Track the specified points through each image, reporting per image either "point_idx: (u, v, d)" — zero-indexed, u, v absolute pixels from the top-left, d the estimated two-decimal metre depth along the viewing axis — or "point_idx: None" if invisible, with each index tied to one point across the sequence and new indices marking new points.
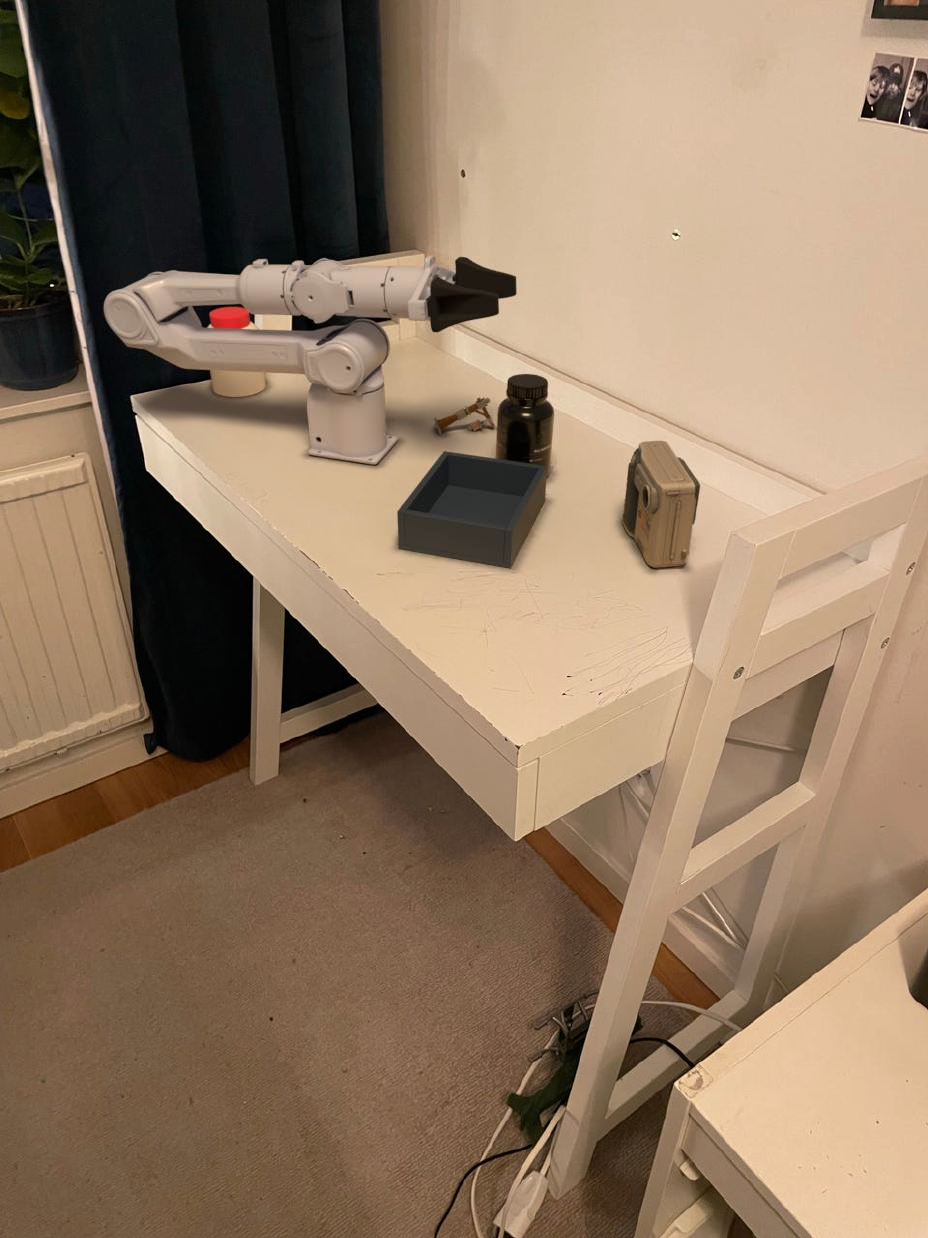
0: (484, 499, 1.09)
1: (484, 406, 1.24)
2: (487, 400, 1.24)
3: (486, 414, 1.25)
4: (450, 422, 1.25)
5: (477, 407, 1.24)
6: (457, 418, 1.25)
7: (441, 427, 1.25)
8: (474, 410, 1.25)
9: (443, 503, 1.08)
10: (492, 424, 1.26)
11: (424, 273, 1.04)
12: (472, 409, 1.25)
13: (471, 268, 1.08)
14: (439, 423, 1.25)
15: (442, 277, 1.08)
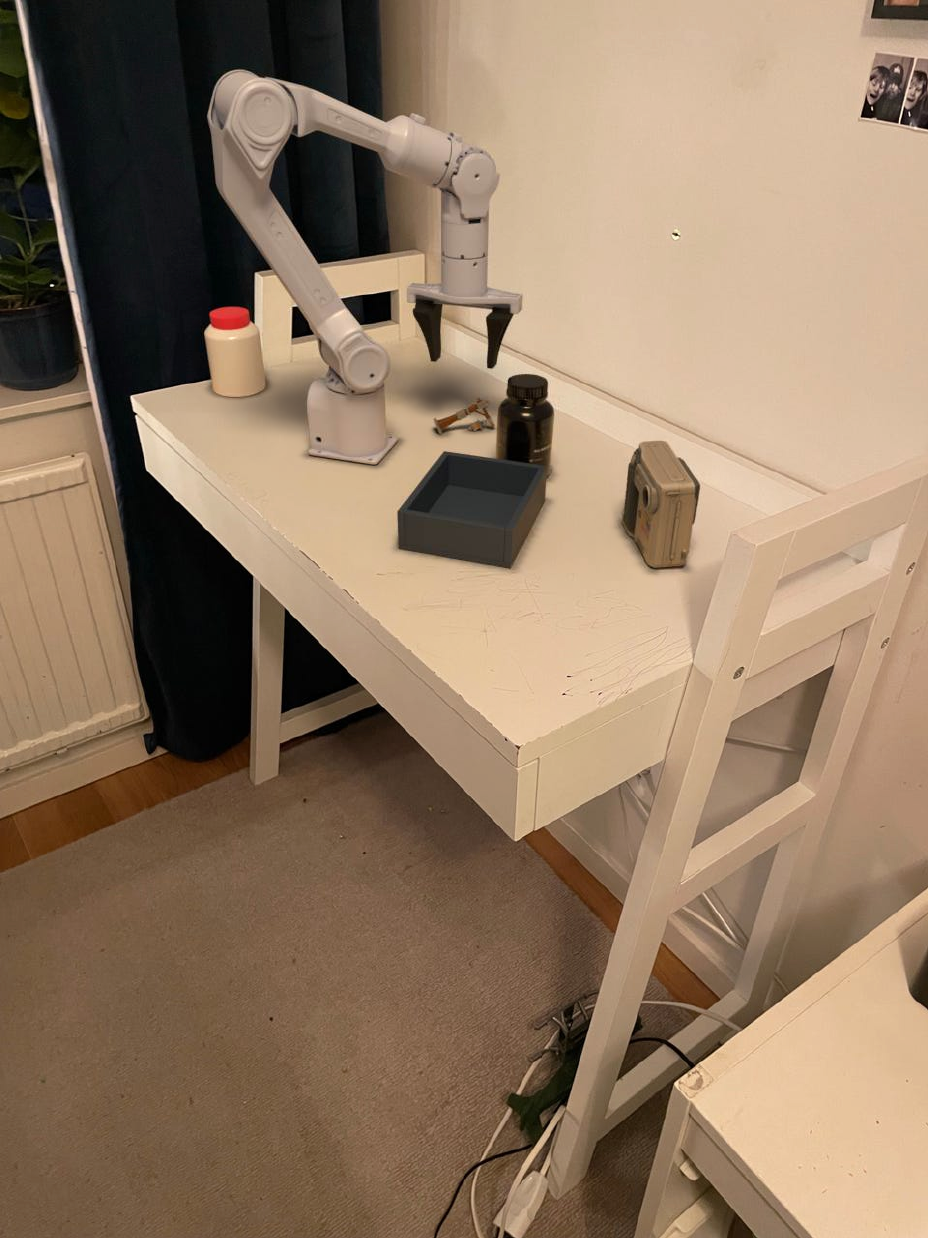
0: (484, 499, 1.09)
1: (484, 406, 1.24)
2: (487, 400, 1.24)
3: (486, 414, 1.25)
4: (450, 422, 1.25)
5: (477, 407, 1.24)
6: (457, 418, 1.25)
7: (441, 427, 1.25)
8: (474, 410, 1.25)
9: (443, 503, 1.08)
10: (492, 424, 1.26)
11: None
12: (472, 409, 1.25)
13: None
14: (439, 423, 1.25)
15: None
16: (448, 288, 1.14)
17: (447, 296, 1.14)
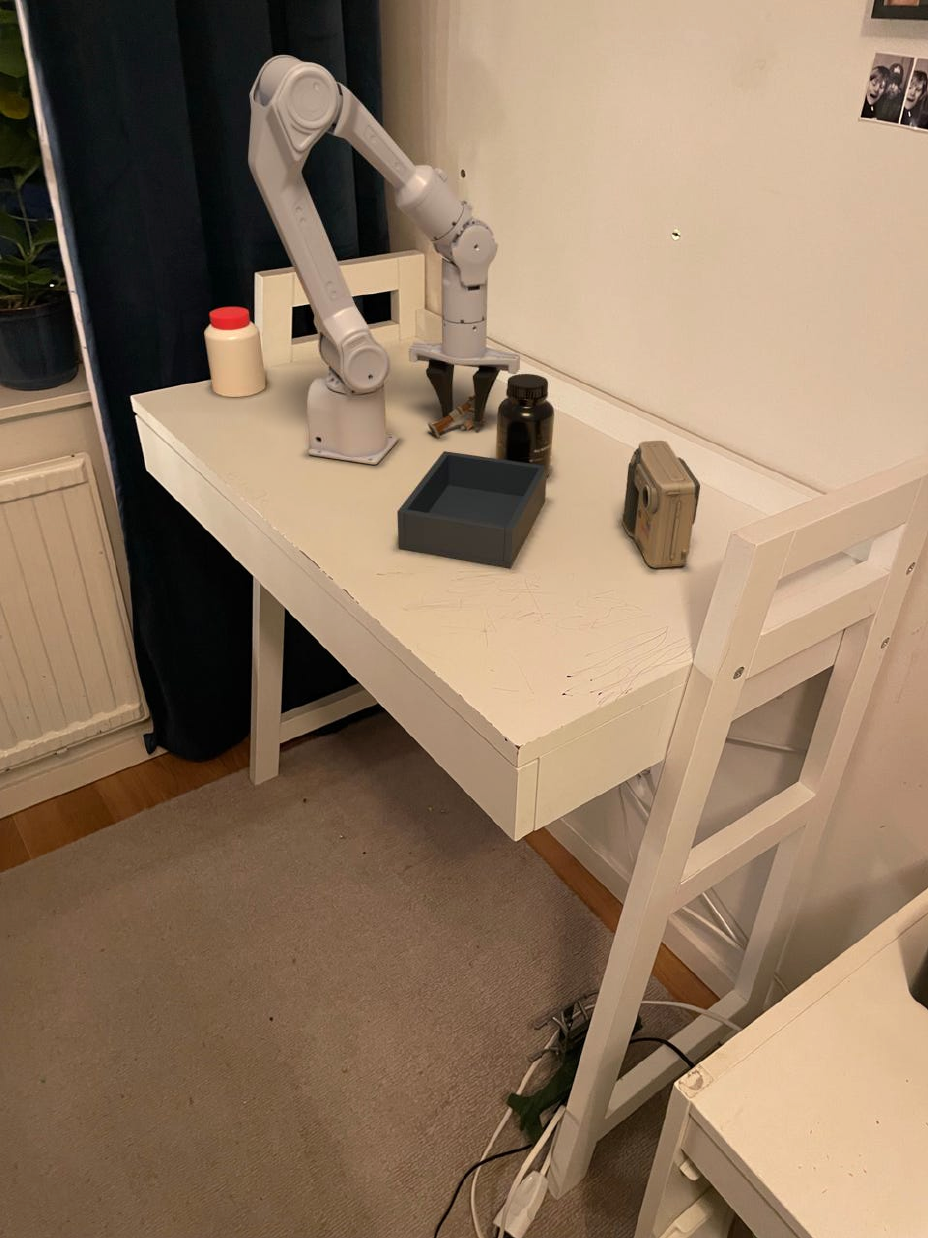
0: (484, 499, 1.09)
1: None
2: None
3: None
4: (446, 424, 1.24)
5: (470, 406, 1.25)
6: (452, 419, 1.25)
7: (438, 431, 1.24)
8: (467, 409, 1.25)
9: (443, 503, 1.08)
10: (483, 421, 1.27)
11: None
12: (465, 408, 1.25)
13: (453, 373, 1.25)
14: (436, 427, 1.24)
15: None
16: (448, 349, 1.18)
17: (447, 357, 1.19)
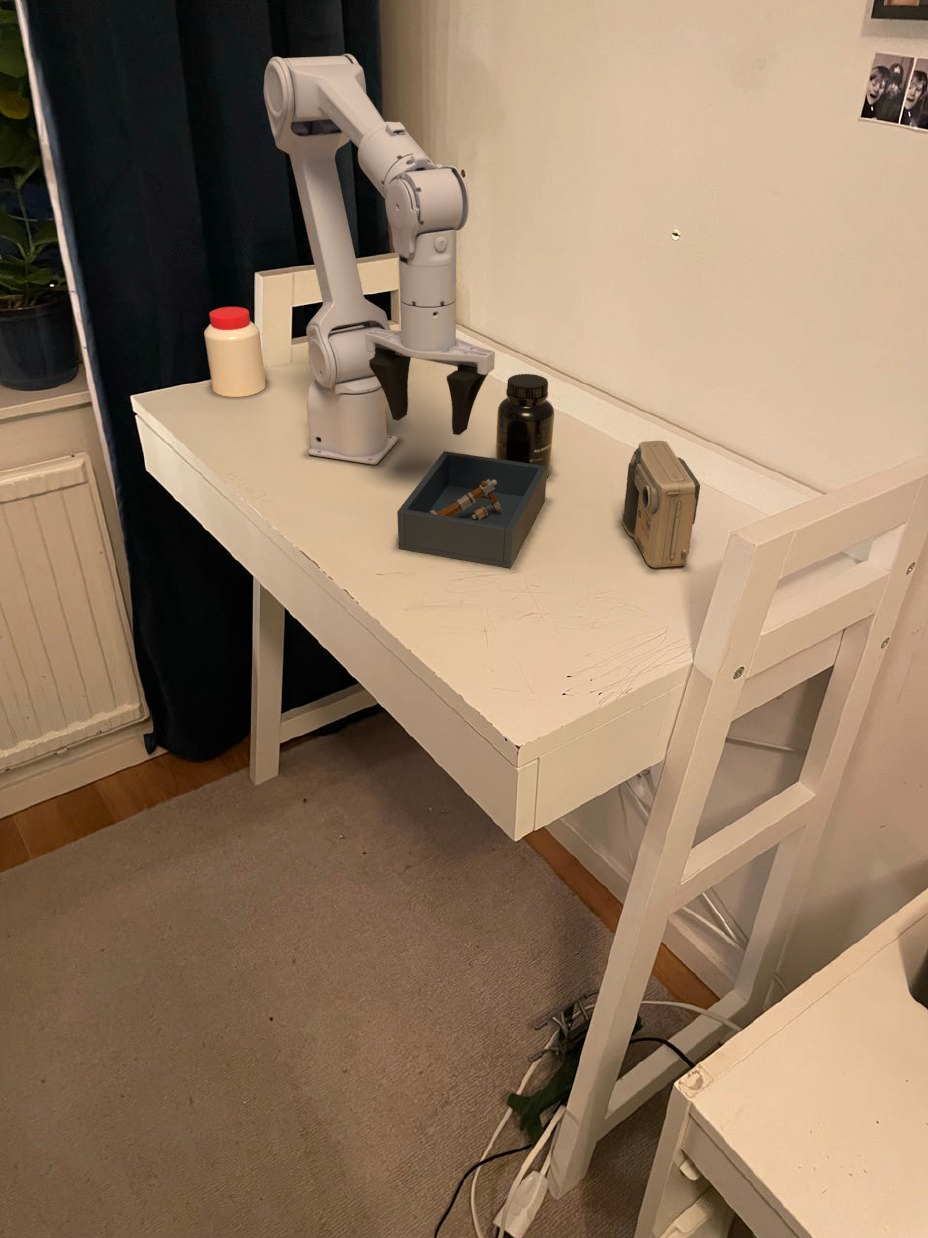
0: (484, 499, 1.09)
1: (491, 490, 1.04)
2: (494, 482, 1.03)
3: (492, 499, 1.05)
4: (453, 514, 1.03)
5: (483, 492, 1.03)
6: (460, 508, 1.03)
7: None
8: (479, 496, 1.04)
9: (443, 503, 1.08)
10: (499, 509, 1.06)
11: None
12: (477, 495, 1.03)
13: (408, 367, 1.03)
14: None
15: None
16: (405, 339, 0.96)
17: (404, 348, 0.96)
